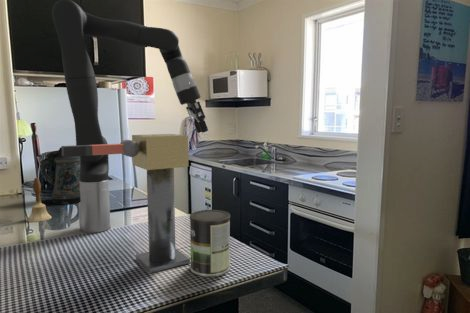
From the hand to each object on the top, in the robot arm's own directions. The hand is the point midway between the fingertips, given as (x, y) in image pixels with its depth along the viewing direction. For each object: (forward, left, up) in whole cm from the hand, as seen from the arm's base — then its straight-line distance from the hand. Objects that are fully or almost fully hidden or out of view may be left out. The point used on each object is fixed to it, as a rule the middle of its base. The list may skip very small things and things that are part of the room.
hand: (202, 132), depth 125 cm
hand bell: (-62, -15, -34) cm, 72 cm away
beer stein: (-74, +12, -34) cm, 82 cm away
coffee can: (+17, -35, -34) cm, 51 cm away
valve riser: (+3, -35, -33) cm, 48 cm away
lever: (-6, -46, -4) cm, 47 cm away
